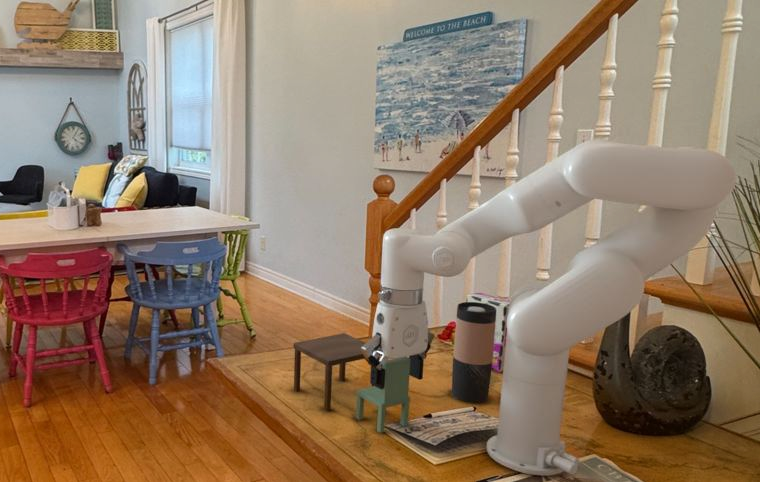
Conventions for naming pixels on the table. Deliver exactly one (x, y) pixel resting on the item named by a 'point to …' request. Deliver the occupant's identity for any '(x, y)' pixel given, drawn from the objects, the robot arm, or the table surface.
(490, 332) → the travel mug
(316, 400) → the table surface
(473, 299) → the candy bar box
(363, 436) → the table surface
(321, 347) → the side table
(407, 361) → the chair
